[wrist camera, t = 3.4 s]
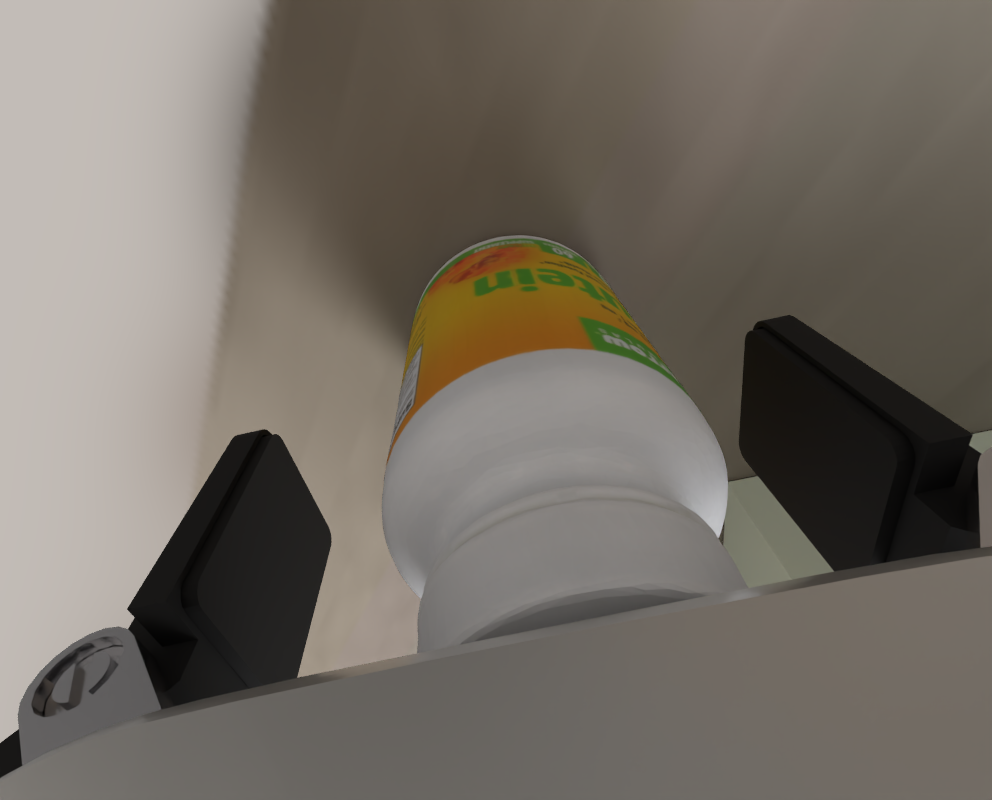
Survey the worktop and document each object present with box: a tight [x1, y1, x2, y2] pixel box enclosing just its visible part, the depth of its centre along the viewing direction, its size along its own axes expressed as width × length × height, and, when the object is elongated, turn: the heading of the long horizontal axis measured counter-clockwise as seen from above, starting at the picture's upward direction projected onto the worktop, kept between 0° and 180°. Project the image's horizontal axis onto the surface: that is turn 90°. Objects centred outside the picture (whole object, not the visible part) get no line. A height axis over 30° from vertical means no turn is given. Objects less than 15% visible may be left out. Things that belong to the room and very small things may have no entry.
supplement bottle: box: [382, 235, 748, 653], centre depth 10 cm, size 5×5×10 cm
